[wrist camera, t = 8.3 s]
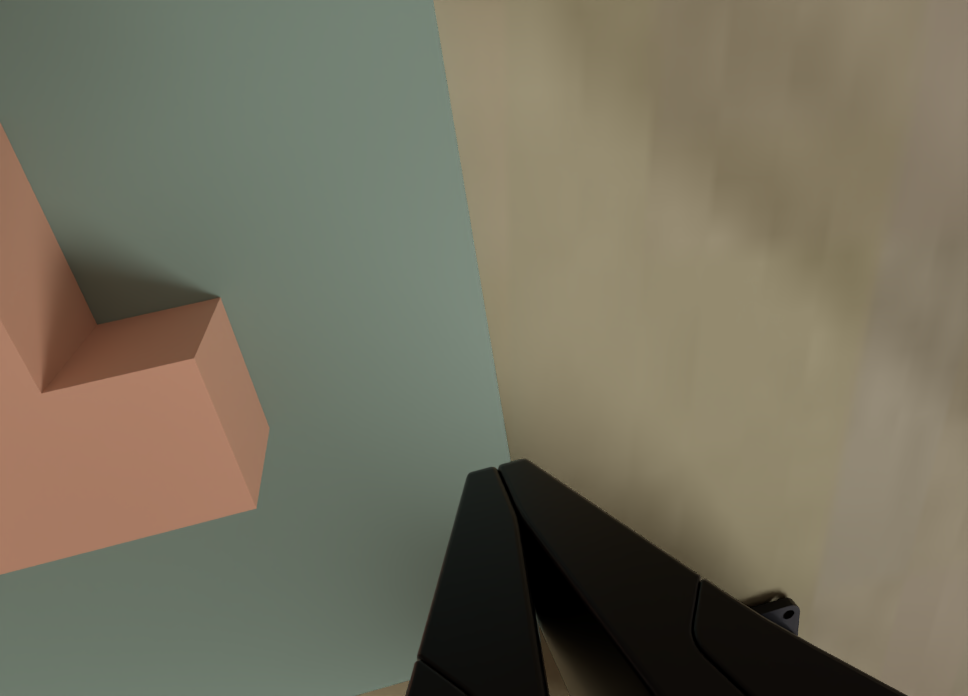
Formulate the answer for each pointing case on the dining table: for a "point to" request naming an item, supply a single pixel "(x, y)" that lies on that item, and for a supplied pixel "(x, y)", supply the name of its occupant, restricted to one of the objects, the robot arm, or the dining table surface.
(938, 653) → the dining table surface
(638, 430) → the dining table surface
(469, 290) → the board
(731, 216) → the dining table surface
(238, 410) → the salmon notched block
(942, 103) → the dining table surface
